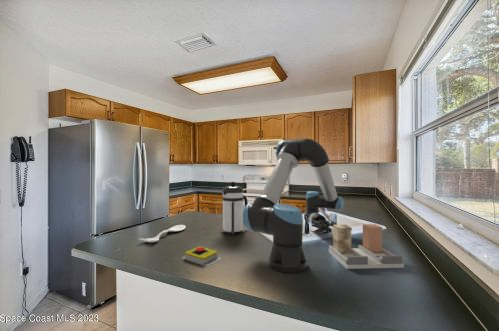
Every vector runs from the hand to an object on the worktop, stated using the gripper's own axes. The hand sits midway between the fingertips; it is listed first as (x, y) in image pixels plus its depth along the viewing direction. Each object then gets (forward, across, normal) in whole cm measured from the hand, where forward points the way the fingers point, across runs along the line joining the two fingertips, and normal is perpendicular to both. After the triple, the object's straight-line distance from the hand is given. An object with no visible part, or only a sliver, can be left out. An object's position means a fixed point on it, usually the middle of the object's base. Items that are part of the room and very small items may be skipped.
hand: (335, 232), depth 108 cm
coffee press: (-31, +49, -8) cm, 58 cm away
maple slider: (+7, 0, -6) cm, 9 cm away
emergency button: (+8, +62, -9) cm, 63 cm away
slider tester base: (+12, -7, -8) cm, 16 cm away
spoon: (-24, +87, -8) cm, 90 cm away
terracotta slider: (+7, -14, -6) cm, 17 cm away
